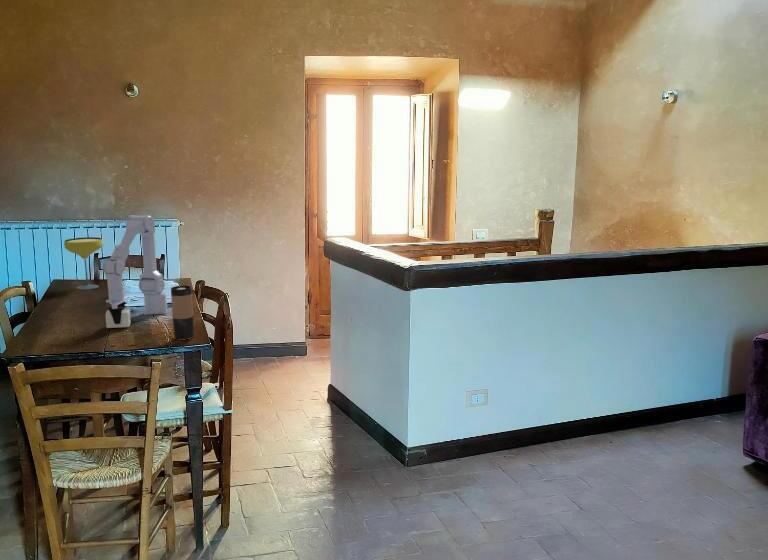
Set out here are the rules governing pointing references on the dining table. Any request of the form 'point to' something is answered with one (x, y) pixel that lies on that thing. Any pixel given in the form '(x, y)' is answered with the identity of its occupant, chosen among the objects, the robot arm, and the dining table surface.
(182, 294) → the travel mug
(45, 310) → the dining table surface
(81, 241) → the cocktail glass
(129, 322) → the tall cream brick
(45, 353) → the dining table surface
